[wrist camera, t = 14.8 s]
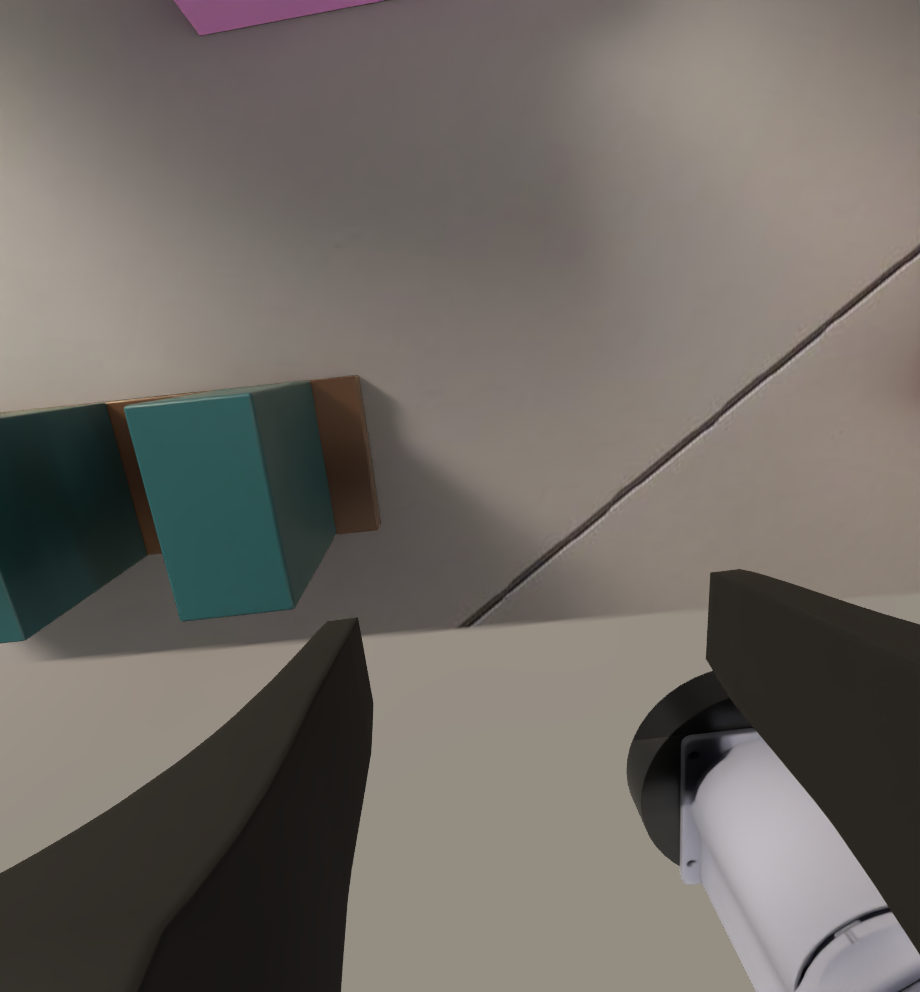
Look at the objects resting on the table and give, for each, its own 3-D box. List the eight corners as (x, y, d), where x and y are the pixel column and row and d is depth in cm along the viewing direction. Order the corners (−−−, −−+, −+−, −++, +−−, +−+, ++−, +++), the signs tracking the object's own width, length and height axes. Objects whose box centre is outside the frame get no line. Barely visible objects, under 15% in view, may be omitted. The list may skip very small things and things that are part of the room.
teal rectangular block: (311, 379, 18) (250, 392, 12) (337, 534, 19) (294, 610, 14) (222, 389, 18) (120, 405, 12) (256, 543, 19) (179, 623, 14)
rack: (381, 523, 20) (354, 605, 14) (-78, 573, 20) (-329, 680, 13) (359, 375, 19) (317, 386, 12) (-137, 427, 19) (-451, 466, 12)
